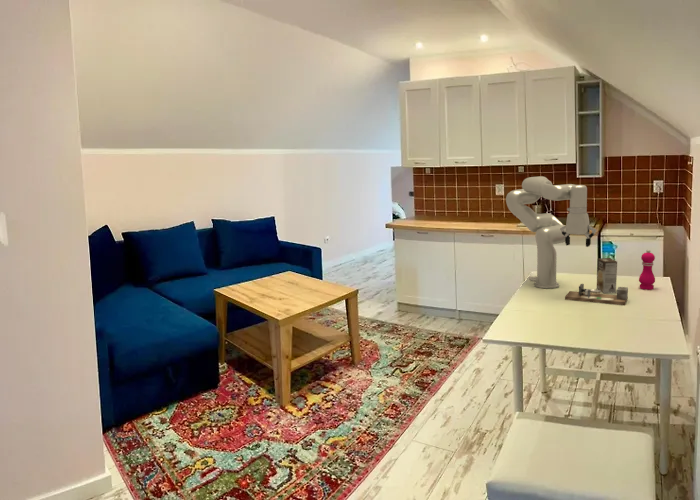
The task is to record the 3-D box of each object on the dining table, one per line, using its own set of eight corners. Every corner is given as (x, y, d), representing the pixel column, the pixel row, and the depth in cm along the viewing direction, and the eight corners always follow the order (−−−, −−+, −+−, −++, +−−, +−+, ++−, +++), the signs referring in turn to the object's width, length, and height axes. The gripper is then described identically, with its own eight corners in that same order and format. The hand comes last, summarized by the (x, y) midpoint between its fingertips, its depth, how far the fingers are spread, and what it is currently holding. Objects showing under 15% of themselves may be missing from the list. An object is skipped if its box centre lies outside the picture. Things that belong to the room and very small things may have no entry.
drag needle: (587, 296, 258) (587, 290, 258) (588, 295, 260) (588, 289, 260) (589, 297, 258) (589, 291, 257) (590, 295, 260) (590, 289, 259)
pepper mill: (654, 287, 277) (656, 248, 273) (655, 290, 271) (657, 251, 267) (638, 286, 280) (639, 247, 276) (638, 289, 274) (640, 250, 270)
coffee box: (595, 289, 279) (596, 258, 276) (608, 288, 279) (609, 257, 276) (603, 293, 270) (604, 261, 267) (616, 293, 270) (618, 261, 267)
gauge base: (565, 299, 264) (565, 287, 263) (569, 293, 273) (569, 282, 272) (624, 305, 250) (625, 292, 249) (627, 299, 259) (628, 287, 258)
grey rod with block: (577, 295, 262) (578, 287, 262) (580, 291, 269) (581, 283, 268) (598, 297, 257) (599, 289, 257) (601, 293, 264) (601, 285, 263)
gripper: (557, 211, 267) (557, 245, 270) (593, 212, 255) (592, 248, 258) (563, 209, 272) (563, 243, 275) (599, 210, 260) (598, 245, 263)
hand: (577, 245), depth 267 cm, fingers open, 9 cm apart
